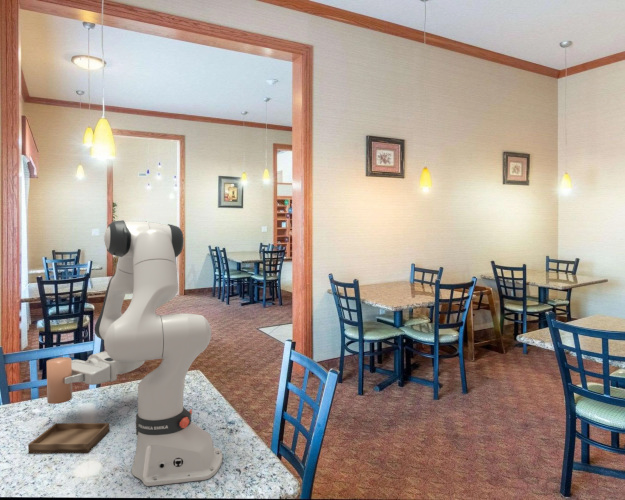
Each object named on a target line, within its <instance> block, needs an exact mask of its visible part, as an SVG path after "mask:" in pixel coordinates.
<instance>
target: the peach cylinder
mask: <svg viewBox="0 0 625 500" xmlns="http://www.w3.org/2000/svg"><path fill="white" fill-rule="evenodd" d="M71 360H72V358H71V357H69V356H67V357H65V356H63V357H55V358H51V359H48V360H46V397H47V401H46V402H47V403H48V404H51V405H57V404H58V405H59V404H63V403H66V402H69V401H71V400H72V399H73V383H68V384H65V383H63V378H64V377H67V376H72V366H71Z"/></svg>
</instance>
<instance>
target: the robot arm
mask: <svg viewBox="0 0 625 500" xmlns="http://www.w3.org/2000/svg"><path fill="white" fill-rule="evenodd" d="M103 237H104V238H103V239H104V240H103V241H104V245H105V247H106V251H107V252H108V253H109V254H111V255H112V256H115V257H118V258H117V264H116V270H115V273H114V274H113V275H112V276H111V278H110V279H109V281H108V284H107V287H106V292H105V294H104V300H103V304H102V306H101V310H100V313H99V316H98V318H97V320H96V322H95V325H94V333H95V336H96V337H97V338H99V339H100V340H101V341H103V345H104V351H101V352H97V353H96V352H95V353H92V354H91V355H89V357H87V360H81V359H73V360H72V359H71V366H72V376H67V377H64V378H63V383H65V384H68V383H72V384H73V383H83V384H87V385H91V386H94V385H95V386H96V385H100V384H104V383H107V382H111V383H112V382H115V381H117V377H118V376H117V375H123V374H126V373H130V372H132V371H134V370H137V369H138V368H140V367H141V366H143V365H144V364H145V362H146V361H152V360H162V361H161V363H160V364H159V365H158V367H157V368H155V369H153V370H152V371H150V372H149V373H147V374H145V376H144V377H142V379H141V380H140V381H139V383H138V385H137V413H136V415H135V416H136V417H135V433H136V436H137V437H136V446H135V455H134V459H133V463H132V465H131V473H132V475H133V476H134V477H135V478H137V479H139V480H141V481H142V483H143V485H144V486H147V487H152V486H162V485H169V484H170V485H172V484H178V483H187V482H188V483H189V482H197V481H203V480H204V481H205V480H209V479H211V478H212V477H213V476H215V475H216V474H217V473H218V471H219V470H220V467H222V463H223V452H222V450H221V449H220V448H219V447H214V446H215V445H214V441H213V438H212V436H211V434H210V433H209V432H208V431H206V430H205V429H203V428H201V427H200V426H199V425H197V424H195V423H194V422H192V414H193V413H192V411H193V410H192V409H193V408H190V410H187V409H186V407H184V393H185V392H184V391H185V390H184V389H185V381H186V376H187V374H188V371H189V369H190V367H191V365H192V364H193V362H195V360H196V358H197V357H198V356H199V355H200V354H202V353H203V352H204V351H205V350H206V349H207V348H208V346H209V344H210V342H211V340H212V328H211V324H210V322H209V320H208V319H207V318H206V317H205V316H204V315H202V314H196V313H194V314H193V313H187V312H186V313H185V312H184V313H173V314H172V313H171V314H157V313H156V310H157V309H159V308H160V307H162V306H163V305H166V304H167V303H169V302H170V301H172V300H174V298H175V297H176V295H178V291H179V282H178V281H179V279H178V273H177V272H178V271H177V261H176V258H177V257H179V255H180V254H181V253H182V252H183V248H184V245H185V244H184V243H185V239H184V233H183V231H182V230H181V228H180V227H179V226H177V225H174V224H171V223H170V224H169V223H168V224H163V223H158V222H151V221H149V222H148V221H146V220H145V221H143V220H128V221H125V220H115V221H112V222H111V223H109V224H108V226H107V229H106V230H105V232H104V236H103ZM127 294H128V295H131V294H132V296H131V300H130V303H129V305H128V307H127V308H126V310H125V311H124V312H123V313H122V308H123V304H124V300H125V296H126V295H127Z"/></svg>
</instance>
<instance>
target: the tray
mask: <svg viewBox="0 0 625 500" xmlns="http://www.w3.org/2000/svg"><path fill="white" fill-rule="evenodd" d="M109 432H110V423H109V422H77V423H76V422H74V423H73V422H71V423H69V422H68V423H66V422H64V423H63V422H62V423H61V422H60V423H59V422H58V423H55V424H53V425H51V426H50V427H49V428H48V429H47V430H45V431H44V432H42V433H41V434H39V436H37V437H36V438H35V439H33V440H32V441H30V443H28V446H27V447H28V450H27V451H28V454H89V453H90V452H91V451H92V449H93V448H94V447H96V446H97V444H98V443H99V442H101V441H102V440H103V438H105V437H106V436H107V435H108V434H109Z"/></svg>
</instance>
